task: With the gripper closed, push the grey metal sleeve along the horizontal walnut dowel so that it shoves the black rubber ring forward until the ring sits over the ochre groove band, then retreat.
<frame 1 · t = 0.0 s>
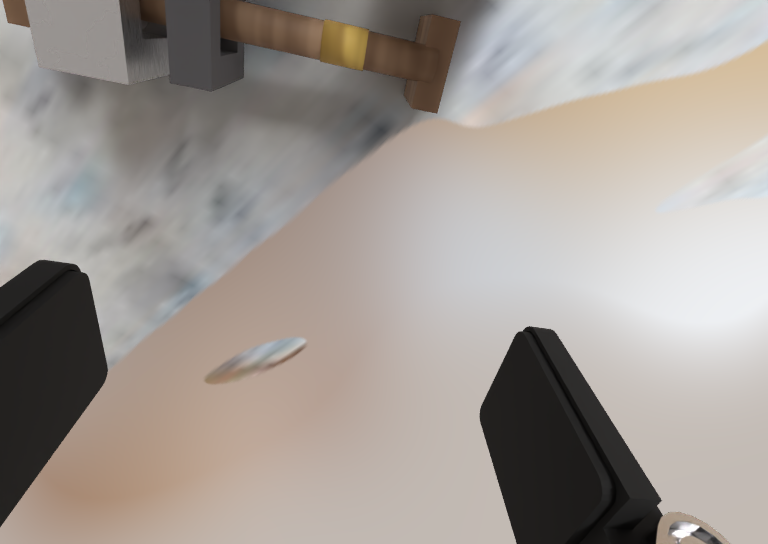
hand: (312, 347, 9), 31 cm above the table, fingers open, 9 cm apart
dowel rail: (260, 22, 32), on the table
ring: (210, 15, 27), point 6 cm above the table, slide at -2.0 cm
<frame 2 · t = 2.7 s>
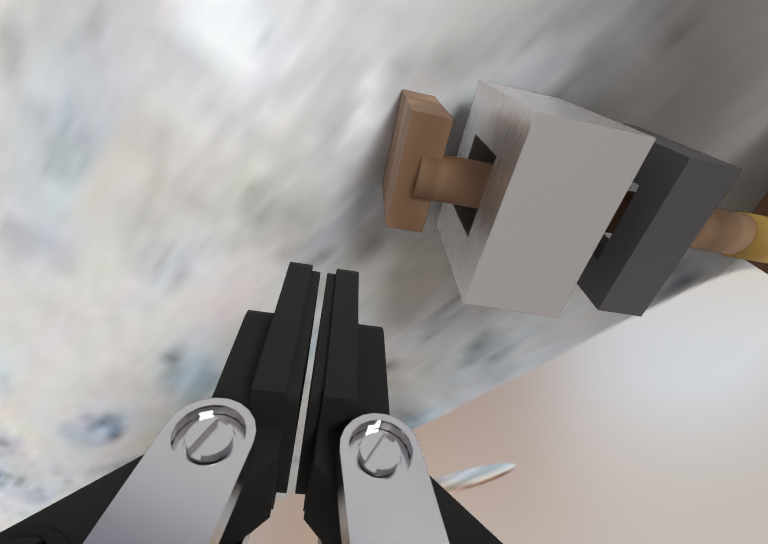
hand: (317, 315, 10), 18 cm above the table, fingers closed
dowel rail: (597, 181, 27), on the table
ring: (617, 211, 22), point 6 cm above the table, slide at -2.0 cm
sleeve: (516, 192, 21), point 6 cm above the table, slide at -8.0 cm
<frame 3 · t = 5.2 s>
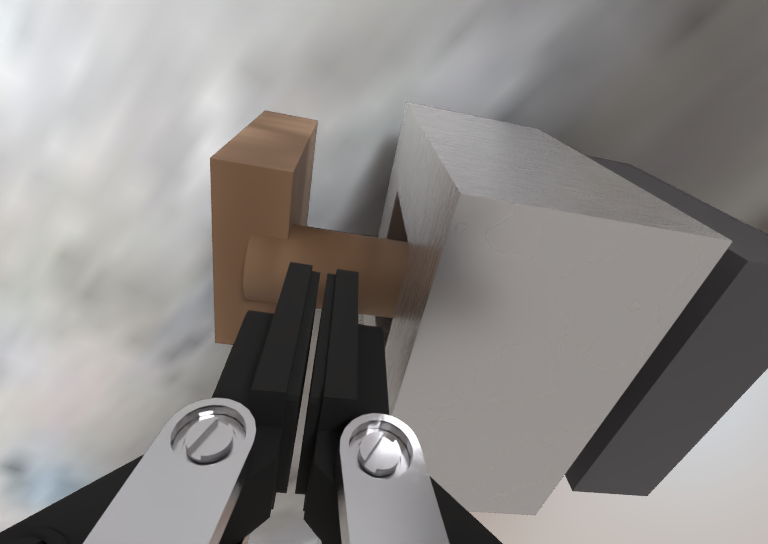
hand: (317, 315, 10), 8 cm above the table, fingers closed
dowel rail: (576, 237, 19), on the table
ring: (604, 308, 13), point 6 cm above the table, slide at -2.0 cm
sleeve: (464, 289, 13), point 6 cm above the table, slide at -6.9 cm, touching gripper
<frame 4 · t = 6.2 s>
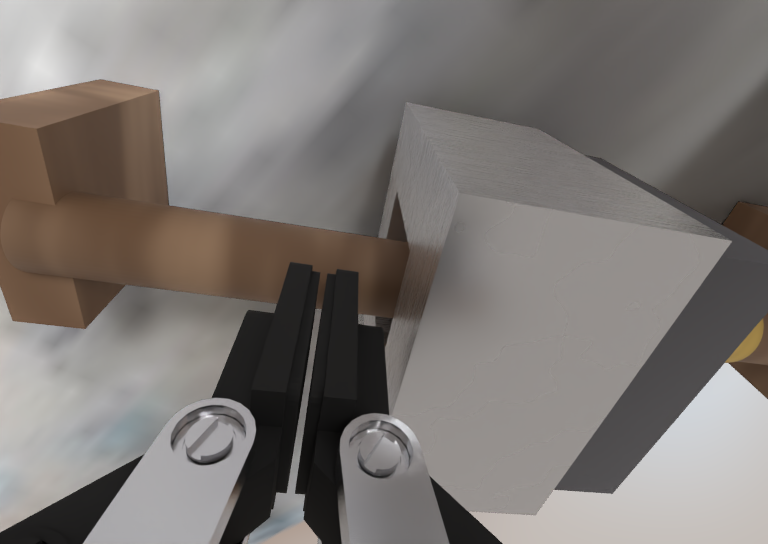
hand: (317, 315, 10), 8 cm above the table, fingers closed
dowel rail: (458, 217, 18), on the table
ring: (572, 304, 13), point 6 cm above the table, slide at 2.7 cm, touching sleeve
sleeve: (464, 289, 13), point 6 cm above the table, slide at -1.1 cm, touching gripper, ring
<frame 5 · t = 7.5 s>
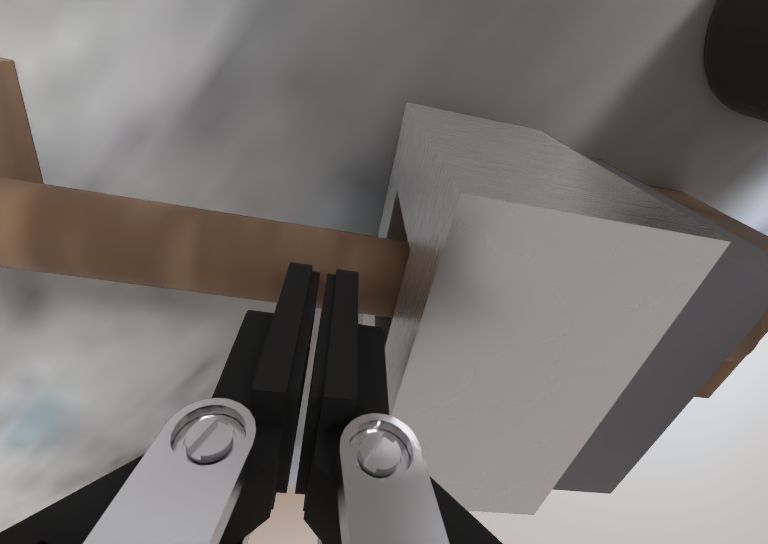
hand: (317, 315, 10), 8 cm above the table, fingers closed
dowel rail: (351, 199, 17), on the table
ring: (571, 304, 13), point 6 cm above the table, slide at 7.5 cm, touching sleeve
sleeve: (464, 288, 13), point 6 cm above the table, slide at 3.8 cm, touching gripper, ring
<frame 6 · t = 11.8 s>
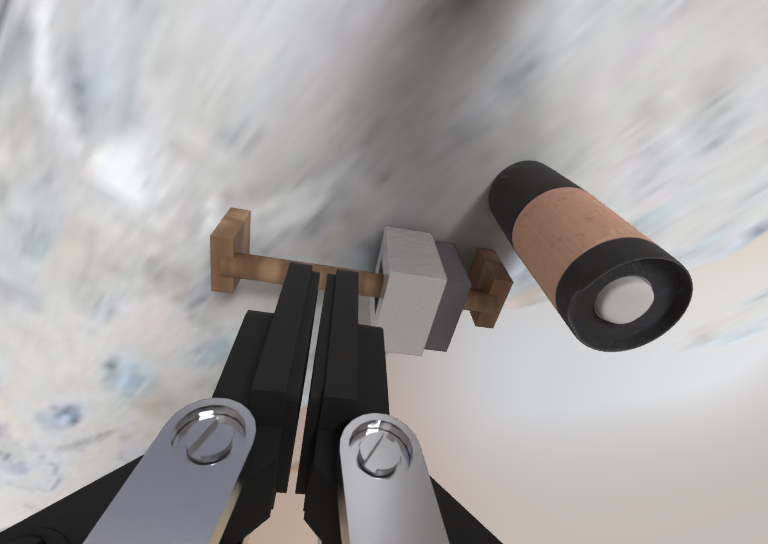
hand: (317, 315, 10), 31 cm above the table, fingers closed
dowel rail: (364, 254, 45), on the table
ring: (438, 294, 41), point 6 cm above the table, slide at 7.7 cm, touching sleeve
travel mug: (521, 193, 42), on the table
sleeve: (402, 289, 40), point 6 cm above the table, slide at 3.9 cm, touching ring
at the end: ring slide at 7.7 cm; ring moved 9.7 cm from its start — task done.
